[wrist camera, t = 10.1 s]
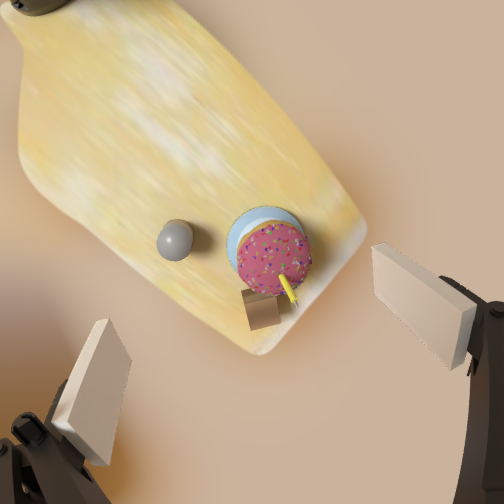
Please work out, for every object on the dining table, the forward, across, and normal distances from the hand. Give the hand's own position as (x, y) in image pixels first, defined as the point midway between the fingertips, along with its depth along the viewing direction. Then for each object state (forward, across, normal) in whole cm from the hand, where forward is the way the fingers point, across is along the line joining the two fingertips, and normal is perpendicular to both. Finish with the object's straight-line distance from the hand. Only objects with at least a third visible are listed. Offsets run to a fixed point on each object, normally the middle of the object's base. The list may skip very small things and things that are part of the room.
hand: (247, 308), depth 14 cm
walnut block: (+24, +2, -14) cm, 28 cm away
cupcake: (+24, +4, -6) cm, 25 cm away
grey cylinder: (+25, -6, -2) cm, 26 cm away
